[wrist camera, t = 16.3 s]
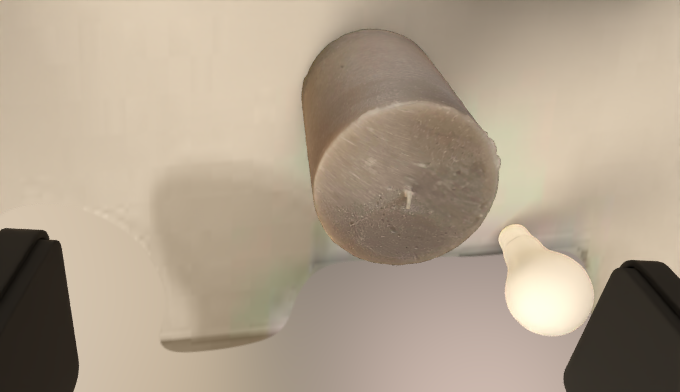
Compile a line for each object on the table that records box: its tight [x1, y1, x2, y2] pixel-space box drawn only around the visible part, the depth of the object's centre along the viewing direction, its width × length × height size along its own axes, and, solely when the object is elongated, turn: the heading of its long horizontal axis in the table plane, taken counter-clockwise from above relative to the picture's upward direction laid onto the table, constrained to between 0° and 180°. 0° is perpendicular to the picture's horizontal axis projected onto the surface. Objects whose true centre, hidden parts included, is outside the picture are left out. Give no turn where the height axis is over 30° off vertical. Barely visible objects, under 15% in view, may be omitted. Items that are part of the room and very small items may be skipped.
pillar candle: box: [302, 29, 501, 265], centre depth 33 cm, size 10×10×15 cm
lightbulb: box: [498, 224, 594, 336], centre depth 43 cm, size 6×6×11 cm
